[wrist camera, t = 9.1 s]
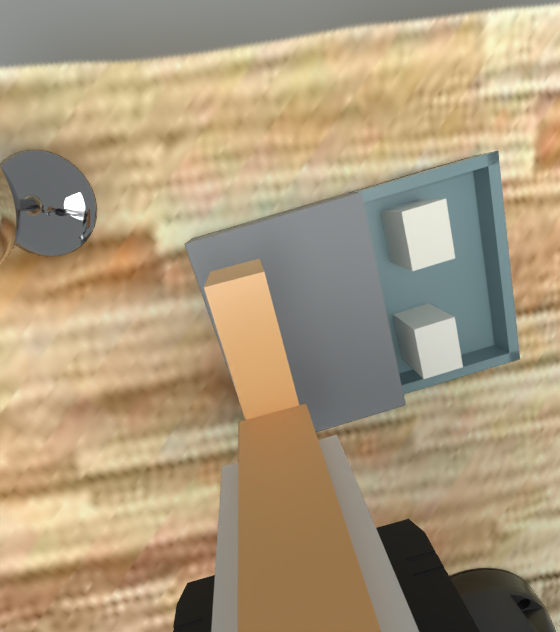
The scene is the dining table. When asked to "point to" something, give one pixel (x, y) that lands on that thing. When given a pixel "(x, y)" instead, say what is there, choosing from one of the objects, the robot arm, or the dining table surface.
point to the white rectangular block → (418, 233)
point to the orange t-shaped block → (282, 480)
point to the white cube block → (428, 340)
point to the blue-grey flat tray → (453, 264)
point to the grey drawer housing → (318, 303)
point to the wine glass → (44, 204)
